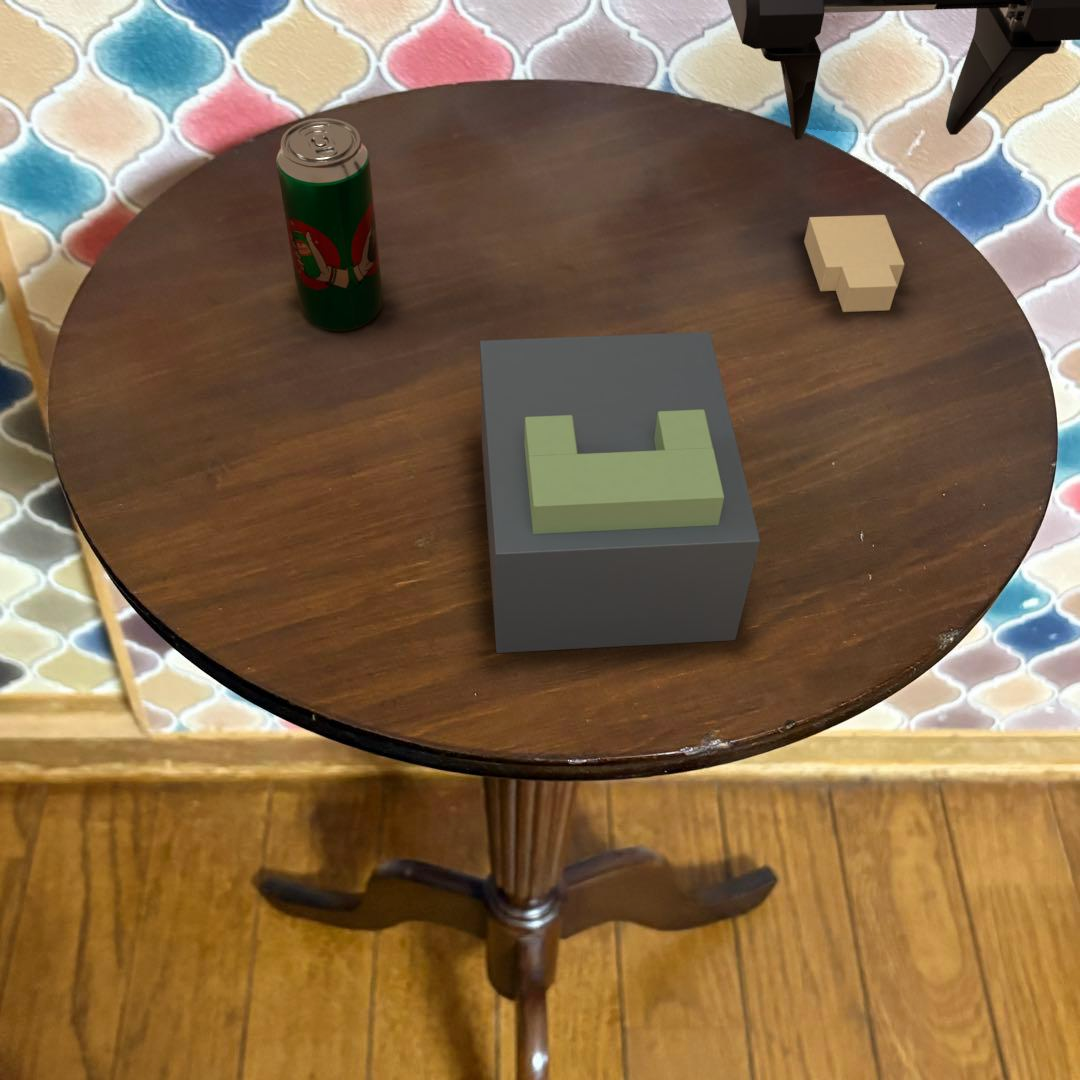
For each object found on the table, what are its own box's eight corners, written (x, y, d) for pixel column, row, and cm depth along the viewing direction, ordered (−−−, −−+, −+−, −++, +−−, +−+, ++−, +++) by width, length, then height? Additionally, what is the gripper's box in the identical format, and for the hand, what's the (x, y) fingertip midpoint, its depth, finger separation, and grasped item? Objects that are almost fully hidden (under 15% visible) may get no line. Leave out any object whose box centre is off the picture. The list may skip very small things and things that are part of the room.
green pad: (699, 437, 62) (704, 408, 60) (718, 525, 58) (724, 497, 57) (524, 445, 61) (524, 416, 60) (532, 534, 58) (533, 506, 56)
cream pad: (878, 239, 84) (885, 214, 83) (905, 310, 80) (913, 285, 79) (803, 241, 84) (809, 216, 83) (827, 313, 80) (833, 288, 78)
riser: (692, 436, 73) (710, 331, 67) (735, 640, 64) (760, 540, 58) (481, 446, 72) (479, 339, 66) (496, 653, 63) (495, 554, 57)
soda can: (368, 274, 81) (350, 105, 72) (394, 324, 78) (380, 155, 69) (290, 294, 80) (262, 124, 70) (314, 345, 77) (288, 176, 68)
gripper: (1073, -217, 68) (987, 54, 80) (727, -212, 67) (693, 62, 79) (1153, -122, 61) (1046, 159, 73) (769, -114, 60) (725, 170, 72)
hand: (873, 133), depth 75 cm, fingers open, 9 cm apart
